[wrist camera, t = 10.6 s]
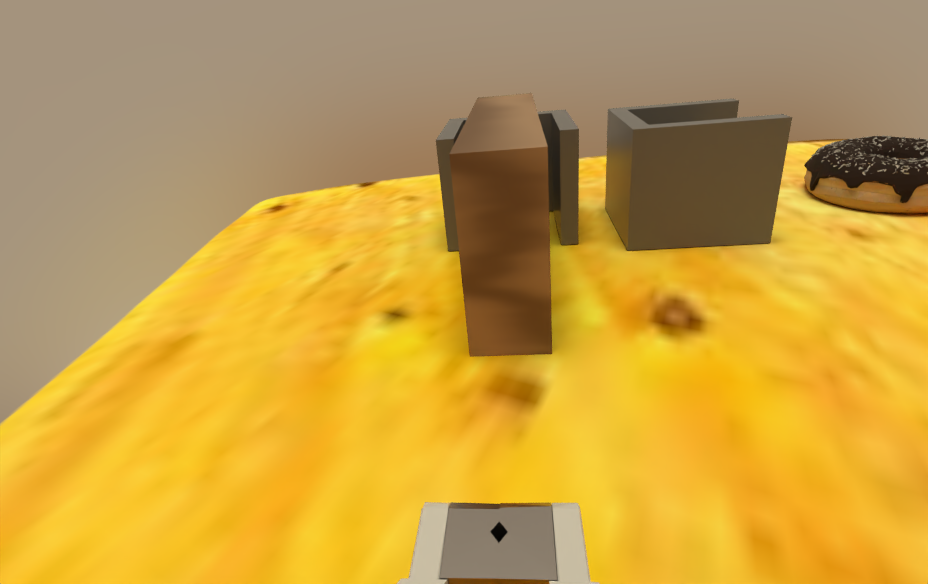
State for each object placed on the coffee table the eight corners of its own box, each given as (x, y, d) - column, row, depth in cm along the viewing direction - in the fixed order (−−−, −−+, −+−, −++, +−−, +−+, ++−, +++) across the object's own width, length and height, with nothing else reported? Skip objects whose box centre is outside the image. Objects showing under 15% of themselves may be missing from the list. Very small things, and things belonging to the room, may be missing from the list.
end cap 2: (605, 208, 44) (607, 108, 41) (719, 201, 43) (732, 98, 40) (627, 250, 36) (633, 129, 32) (770, 243, 35) (792, 117, 31)
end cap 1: (566, 205, 46) (565, 109, 43) (578, 243, 38) (578, 128, 34) (459, 212, 47) (449, 119, 44) (448, 251, 39) (435, 140, 35)
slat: (535, 221, 43) (531, 93, 39) (552, 355, 26) (547, 146, 21) (487, 224, 44) (477, 97, 40) (470, 358, 26) (449, 154, 22)
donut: (955, 180, 44) (971, 130, 42) (1000, 227, 35) (1022, 166, 33) (799, 175, 49) (807, 131, 47) (801, 215, 40) (812, 162, 38)
